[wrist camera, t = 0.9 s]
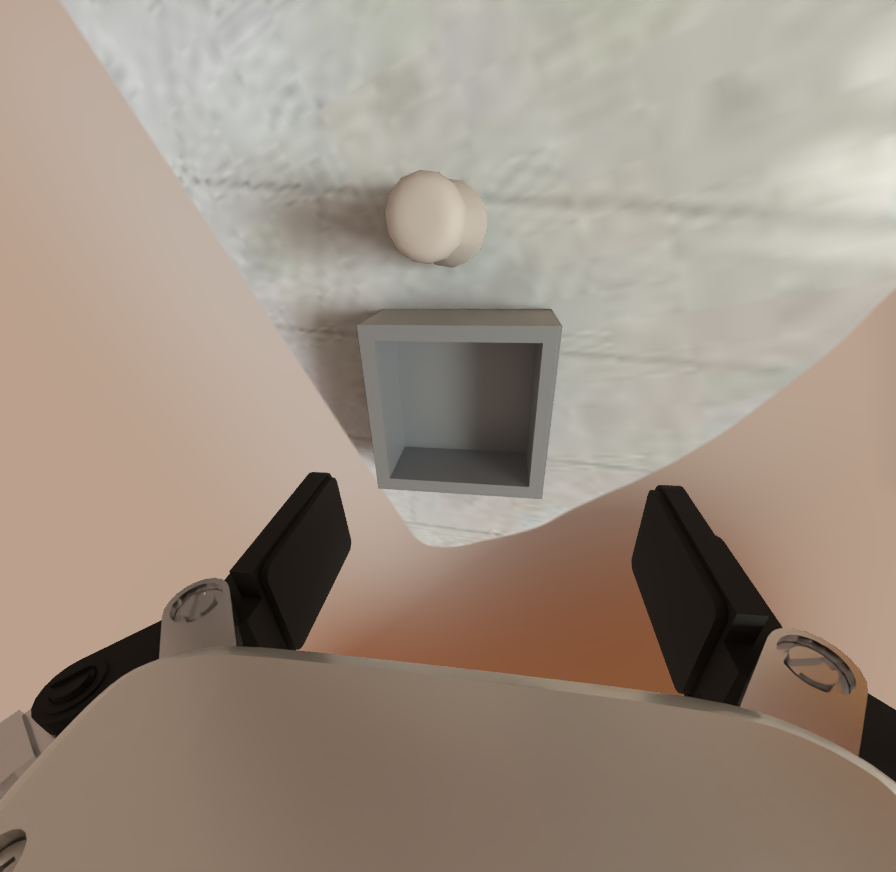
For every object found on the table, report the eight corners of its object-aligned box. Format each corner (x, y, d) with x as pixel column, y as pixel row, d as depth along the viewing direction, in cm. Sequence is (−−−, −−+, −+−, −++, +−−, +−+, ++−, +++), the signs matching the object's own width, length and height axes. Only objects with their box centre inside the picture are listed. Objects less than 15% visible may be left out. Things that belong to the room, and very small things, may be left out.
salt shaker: (431, 274, 32) (390, 294, 21) (407, 200, 30) (346, 177, 19) (497, 250, 31) (491, 257, 19) (477, 170, 28) (457, 125, 17)
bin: (383, 309, 34) (356, 325, 28) (551, 309, 32) (562, 326, 26) (397, 451, 41) (378, 488, 35) (536, 458, 39) (541, 499, 33)
